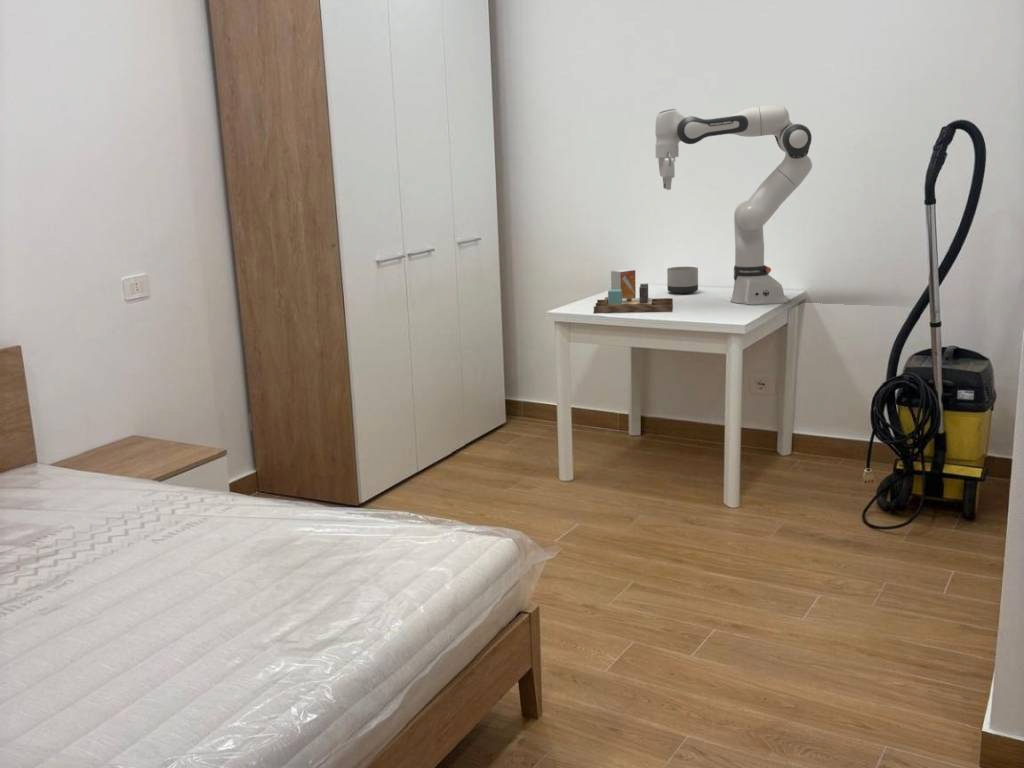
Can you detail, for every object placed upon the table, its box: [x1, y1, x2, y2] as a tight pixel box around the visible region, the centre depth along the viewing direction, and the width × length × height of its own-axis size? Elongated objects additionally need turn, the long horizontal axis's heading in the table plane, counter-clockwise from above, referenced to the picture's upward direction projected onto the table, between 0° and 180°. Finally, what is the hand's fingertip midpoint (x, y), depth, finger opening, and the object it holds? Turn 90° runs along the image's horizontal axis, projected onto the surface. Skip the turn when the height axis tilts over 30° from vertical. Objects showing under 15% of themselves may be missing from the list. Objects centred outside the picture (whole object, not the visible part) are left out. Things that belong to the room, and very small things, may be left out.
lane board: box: [593, 297, 674, 314], centre depth 385 cm, size 30×17×2 cm, turn 80°
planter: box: [666, 266, 699, 295], centre depth 417 cm, size 13×13×10 cm
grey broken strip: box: [622, 283, 653, 302], centre depth 389 cm, size 18×6×8 cm, turn 80°
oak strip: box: [603, 286, 652, 306], centre depth 381 cm, size 18×6×8 cm, turn 80°
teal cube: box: [607, 289, 622, 304], centre depth 382 cm, size 5×5×5 cm
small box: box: [610, 268, 637, 299], centre depth 402 cm, size 8×6×13 cm
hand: (667, 189), depth 383 cm, fingers open, 8 cm apart
